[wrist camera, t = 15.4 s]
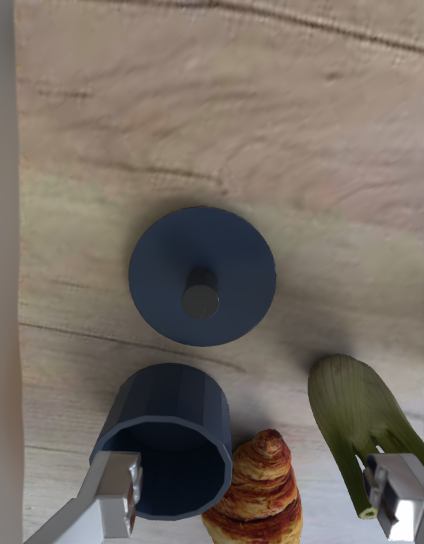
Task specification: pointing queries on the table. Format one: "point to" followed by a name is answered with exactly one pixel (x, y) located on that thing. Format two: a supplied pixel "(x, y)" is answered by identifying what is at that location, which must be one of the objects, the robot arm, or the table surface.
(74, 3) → the table surface
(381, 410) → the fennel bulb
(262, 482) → the croissant
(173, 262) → the lid
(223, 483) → the pot
